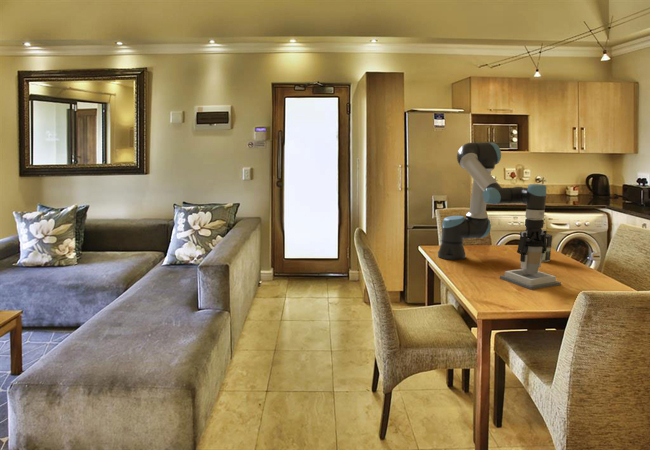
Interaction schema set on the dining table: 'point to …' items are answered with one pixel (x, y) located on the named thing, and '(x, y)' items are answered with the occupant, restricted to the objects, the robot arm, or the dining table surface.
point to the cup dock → (530, 279)
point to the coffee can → (548, 252)
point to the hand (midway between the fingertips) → (530, 267)
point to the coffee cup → (533, 256)
